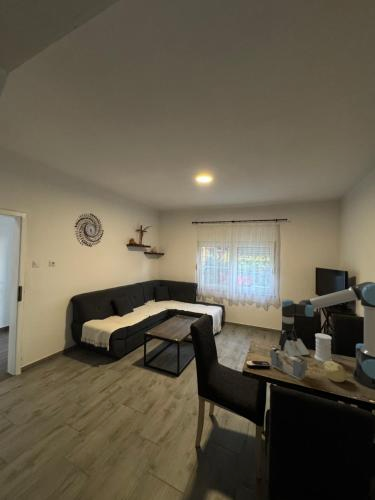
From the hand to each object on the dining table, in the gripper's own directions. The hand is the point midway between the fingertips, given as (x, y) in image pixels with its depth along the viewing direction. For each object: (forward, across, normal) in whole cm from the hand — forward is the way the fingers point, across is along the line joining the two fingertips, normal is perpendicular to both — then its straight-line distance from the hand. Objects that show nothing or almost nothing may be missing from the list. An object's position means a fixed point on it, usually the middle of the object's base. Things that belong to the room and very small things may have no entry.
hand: (288, 352), depth 146 cm
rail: (+7, 0, 0) cm, 7 cm away
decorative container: (+13, -39, +6) cm, 41 cm away
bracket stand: (+12, 0, -1) cm, 12 cm away
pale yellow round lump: (+13, -16, +22) cm, 30 cm away
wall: (+13, -31, -12) cm, 36 cm away
